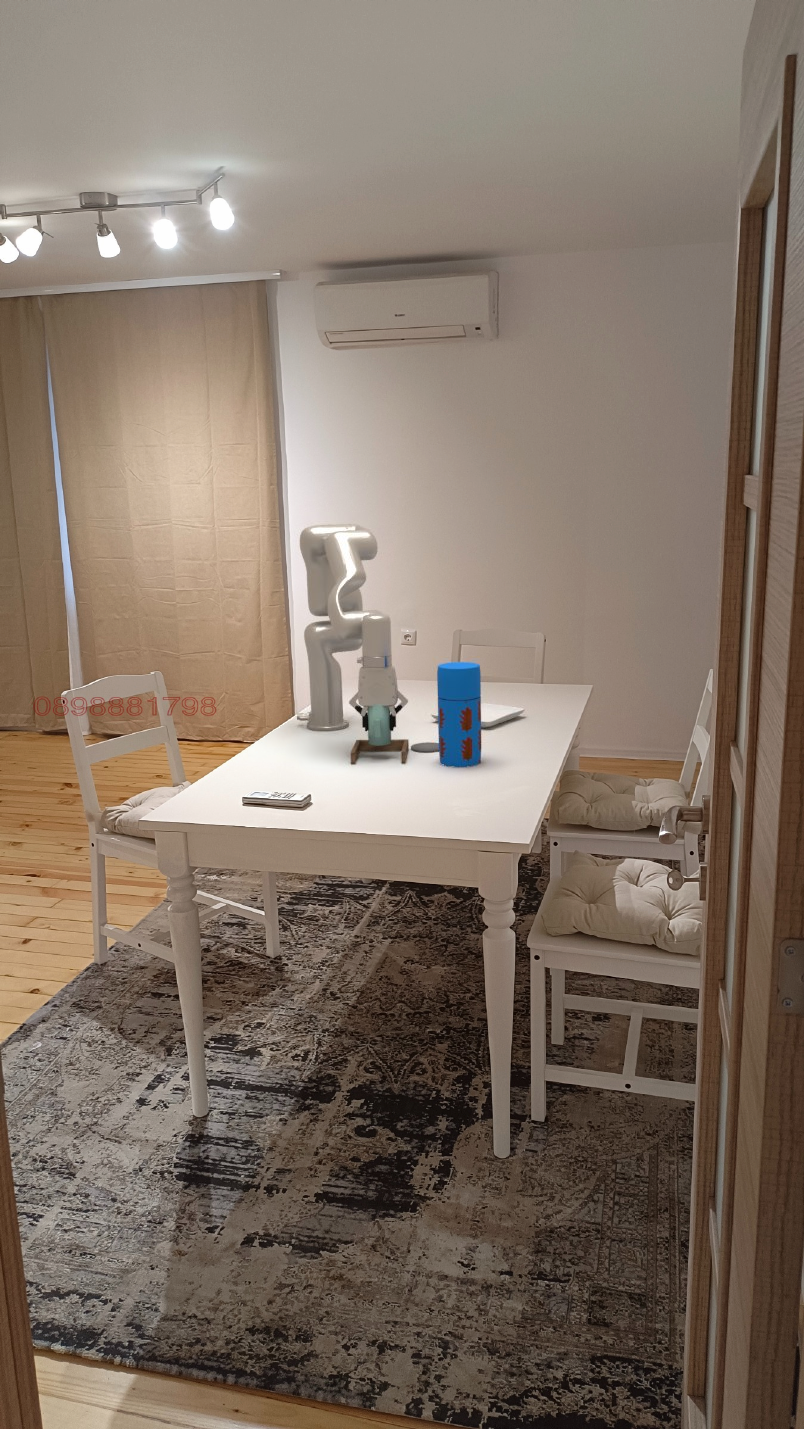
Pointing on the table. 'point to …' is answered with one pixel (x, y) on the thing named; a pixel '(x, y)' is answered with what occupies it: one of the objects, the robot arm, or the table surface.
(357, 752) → the holder
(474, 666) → the thermos
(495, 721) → the salad plate
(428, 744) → the coaster
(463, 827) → the table surface
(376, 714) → the teal mug
